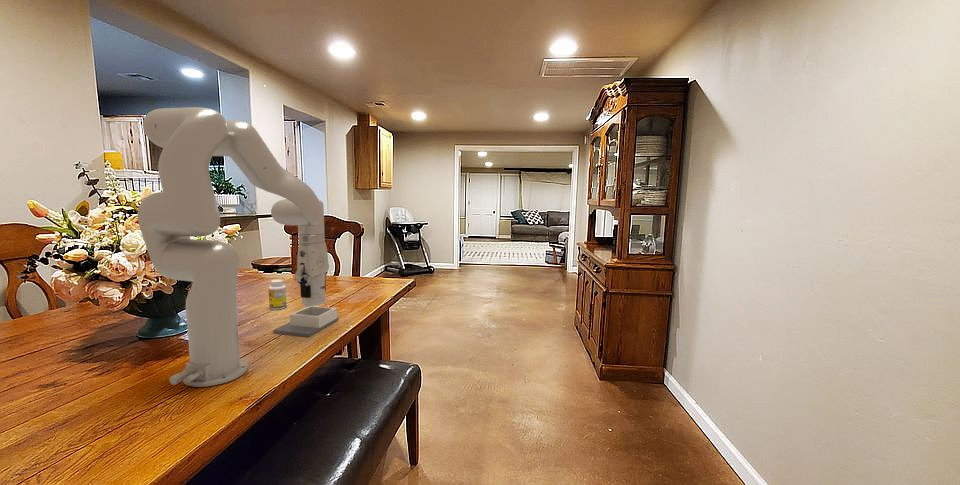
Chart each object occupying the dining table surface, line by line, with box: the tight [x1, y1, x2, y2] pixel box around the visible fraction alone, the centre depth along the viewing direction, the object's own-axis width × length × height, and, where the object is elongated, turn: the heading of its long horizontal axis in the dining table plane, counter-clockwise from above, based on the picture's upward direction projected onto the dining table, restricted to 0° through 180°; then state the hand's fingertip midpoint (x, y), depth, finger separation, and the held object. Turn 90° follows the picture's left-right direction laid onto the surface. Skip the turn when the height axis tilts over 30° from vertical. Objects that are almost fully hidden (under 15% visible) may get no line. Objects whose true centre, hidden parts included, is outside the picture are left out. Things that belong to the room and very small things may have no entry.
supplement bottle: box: [268, 279, 287, 311], centre depth 142 cm, size 6×6×10 cm
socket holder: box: [272, 305, 340, 338], centre depth 124 cm, size 16×12×4 cm
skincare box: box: [301, 267, 326, 307], centre depth 125 cm, size 6×4×12 cm
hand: (313, 293), depth 125 cm, fingers closed on skincare box, 7 cm apart
